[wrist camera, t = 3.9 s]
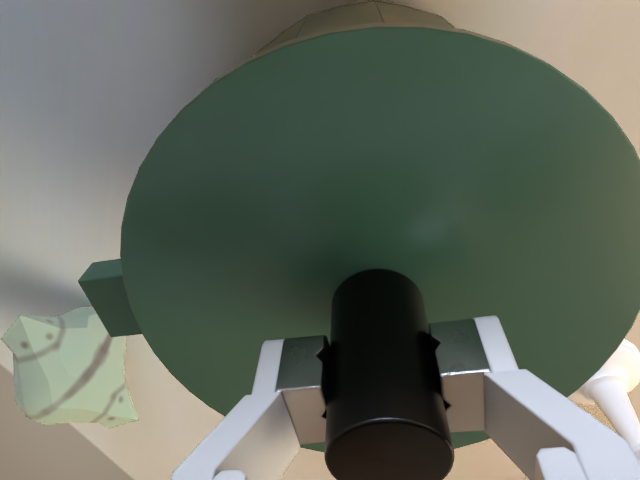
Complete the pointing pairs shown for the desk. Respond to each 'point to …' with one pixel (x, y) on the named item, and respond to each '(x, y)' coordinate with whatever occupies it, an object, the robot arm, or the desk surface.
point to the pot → (106, 276)
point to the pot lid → (384, 228)
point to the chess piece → (616, 392)
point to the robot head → (69, 369)
